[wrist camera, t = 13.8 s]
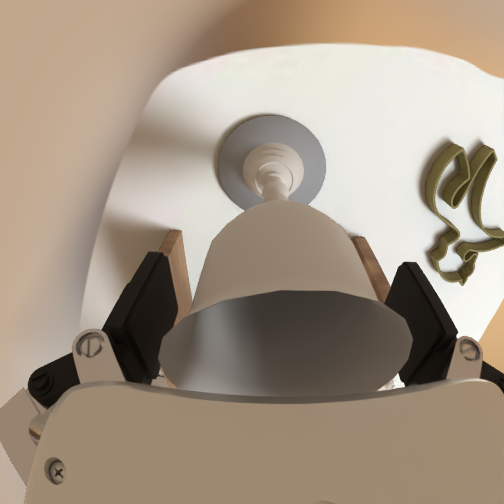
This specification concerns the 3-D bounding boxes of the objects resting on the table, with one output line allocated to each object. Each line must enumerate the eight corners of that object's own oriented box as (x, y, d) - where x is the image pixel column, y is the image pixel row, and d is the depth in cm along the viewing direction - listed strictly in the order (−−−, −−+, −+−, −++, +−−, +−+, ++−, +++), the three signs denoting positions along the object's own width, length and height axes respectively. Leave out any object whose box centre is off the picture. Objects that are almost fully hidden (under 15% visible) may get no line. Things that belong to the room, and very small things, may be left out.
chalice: (314, 128, 20) (445, 270, 5) (318, 204, 23) (381, 404, 8) (222, 138, 20) (114, 298, 6) (236, 212, 24) (198, 417, 9)
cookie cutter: (499, 244, 25) (507, 252, 24) (438, 287, 30) (444, 297, 28) (479, 124, 18) (491, 129, 16) (400, 174, 22) (409, 182, 20)
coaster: (329, 119, 20) (330, 120, 19) (318, 216, 25) (319, 219, 24) (217, 114, 20) (216, 115, 19) (220, 212, 25) (219, 215, 24)
